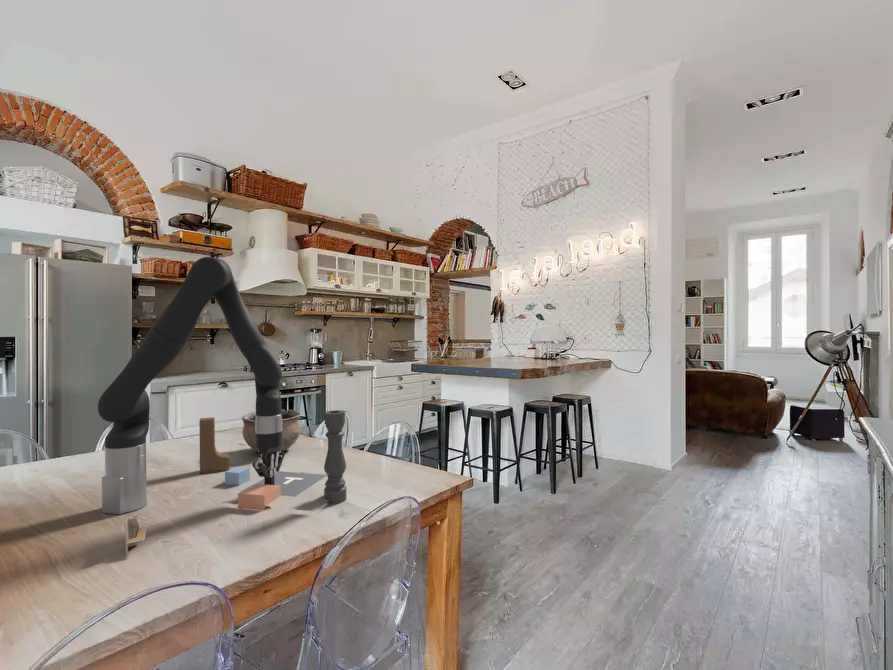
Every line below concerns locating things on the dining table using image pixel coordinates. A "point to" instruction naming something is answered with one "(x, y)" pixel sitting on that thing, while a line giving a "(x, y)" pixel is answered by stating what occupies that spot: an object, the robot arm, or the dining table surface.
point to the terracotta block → (258, 496)
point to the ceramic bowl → (289, 428)
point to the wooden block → (210, 448)
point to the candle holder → (335, 458)
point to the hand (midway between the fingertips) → (269, 489)
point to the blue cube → (237, 476)
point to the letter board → (294, 482)
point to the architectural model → (133, 532)
